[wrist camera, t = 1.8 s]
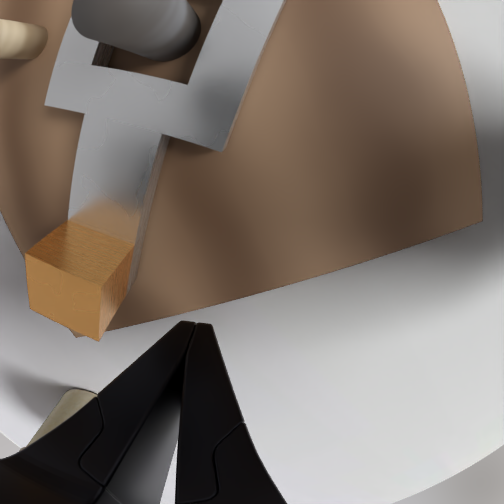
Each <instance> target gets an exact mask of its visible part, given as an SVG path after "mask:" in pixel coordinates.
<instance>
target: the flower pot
mask: <svg viewBox="0 0 504 504" xmlns="http://www.w3.org/2000/svg"><path fill="white" fill-rule="evenodd" d="M95 396H96V397H97V394H94V393H91V392H88V391H85V390H78V389H72V390H68V391H67V392H66V393H65V394H64V395H63V397H62V398H61V400H60V401H59V403H58V404H57V405H56V407H55V408H54V409H53V411H52V412H51V413H50V415H49V416H48V418H47V419H46V420H45V422H44V423H43V424H42V426H41V427H40V428H39V430H38V431H37V433H36V434H35V435H34V437H33V438H32V439H31V441H30V442H29V444H28V445H30V444H32V443H33V442H35V441H36V440H38V439H39V438H41V437H42V436H44V435H45V434H47V433H48V432H50V431H51V430H53V429H54V428H56V427H57V426H58V425H60V424H61V423H63V422H64V421H65V420H67V419H68V418H70V417H71V416H72V415H73V414H75V413H76V412H77V411H78V410H79V409H81V408H82V407H83V406H84V405H85V404H87V403H88V402H89V401H90V400H91V399H92V398H93V397H95ZM28 445H27V446H28ZM27 446H26V447H27ZM24 448H25V447H23V448H21V449H20V451H21V450H22V449H24Z"/></svg>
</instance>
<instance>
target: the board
mask: <svg viewBox="0 0 504 504" xmlns="http://www.w3.org/2000/svg"><path fill="white" fill-rule="evenodd" d="M222 2H223V0H0V211H1V213H2V215H3V218H4V220H5V222H6V224H7V226H8V228H9V230H10V232H11V234H12V236H13V238H14V240H15V242H16V244H17V246H18V248H19V250H20V252H21V253H22V255H23V257H24V259H25V253H26V252H27V251H28V250H29V249H31V248H32V247H33V246H34V245H36V244H37V243H38V242H39V241H41V240H42V239H43V238H44V237H46V236H47V235H48V234H50V233H51V232H52V231H53V230H55V229H56V228H57V227H59V226H60V225H61V224H63V223H64V222H65V221H67V220H68V211H69V201H70V193H71V185H72V178H73V171H74V165H75V159H76V153H77V148H78V142H79V137H80V132H81V128H82V123H83V119H84V115H85V114H84V113H80V112H75V111H71V110H66V109H61V108H56V107H51V106H46V105H44V104H45V100H46V95H47V91H48V87H49V83H50V79H51V76H52V72H53V68H54V65H55V62H56V58H57V55H58V52H59V49H60V46H61V43H62V40H63V37H64V34H65V31H66V29H67V26H68V23H69V21H70V18H71V16H72V22H73V25H74V27H75V29H76V30H77V31H78V32H79V33H80V34H81V35H82V36H84V37H86V38H88V39H92V40H95V41H98V42H102V43H105V44H108V45H111V46H114V49H113V52H112V55H111V58H110V61H109V63H108V67H107V68H113V69H119V70H124V71H129V72H134V73H139V74H144V75H149V76H153V77H158V78H162V79H166V80H170V81H174V82H178V83H182V84H186V85H188V83H189V80H190V77H191V75H192V72H193V70H194V67H195V64H196V62H197V59H198V57H199V54H200V52H201V49H202V47H203V44H204V42H205V40H206V37H207V35H208V33H209V30H210V28H211V26H212V23H213V21H214V19H215V17H216V15H217V12H218V10H219V8H220V6H221V4H222ZM481 221H483V214H482V188H481V174H480V163H479V154H478V146H477V139H476V132H475V126H474V120H473V115H472V110H471V105H470V100H469V96H468V91H467V87H466V83H465V79H464V75H463V72H462V68H461V64H460V61H459V58H458V54H457V51H456V48H455V45H454V42H453V39H452V36H451V33H450V31H449V28H448V25H447V23H446V20H445V18H444V15H443V13H442V10H441V8H440V5H439V3H438V1H437V0H286V2H285V4H284V7H283V9H282V11H281V13H280V15H279V18H278V20H277V22H276V24H275V27H274V29H273V31H272V33H271V36H270V38H269V40H268V43H267V45H266V47H265V50H264V52H263V54H262V57H261V59H260V61H259V64H258V66H257V69H256V71H255V74H254V76H253V78H252V81H251V83H250V86H249V88H248V91H247V93H246V96H245V99H244V101H243V104H242V106H241V109H240V111H239V114H238V117H237V119H236V122H235V125H234V127H233V130H232V133H231V135H230V138H229V141H228V144H227V146H226V148H225V149H224V150H223V152H219V151H216V150H213V149H210V148H207V147H204V146H201V145H198V144H195V143H192V142H188V141H185V140H182V139H179V138H175V137H172V136H170V140H169V143H168V146H167V150H166V153H165V156H164V160H163V164H162V167H161V171H160V174H159V178H158V182H157V186H156V189H155V193H154V197H153V201H152V205H151V210H150V214H149V218H148V222H147V227H146V231H145V236H144V241H143V246H142V250H141V255H140V261H139V266H138V271H137V277H136V280H135V282H134V284H133V285H132V287H131V288H130V290H129V292H128V293H127V295H126V296H125V298H124V300H123V301H122V303H121V305H120V306H119V308H118V310H117V311H116V313H115V315H114V316H113V318H112V320H111V321H110V323H109V325H108V326H107V328H106V330H105V332H106V331H110V330H115V329H119V328H123V327H128V326H132V325H137V324H141V323H145V322H149V321H154V320H158V319H162V318H166V317H170V316H174V315H178V314H182V313H186V312H190V311H194V310H198V309H202V308H206V307H210V306H213V305H217V304H221V303H225V302H229V301H232V300H236V299H240V298H243V297H247V296H251V295H254V294H258V293H262V292H265V291H269V290H272V289H276V288H279V287H283V286H286V285H290V284H293V283H297V282H300V281H303V280H307V279H310V278H313V277H317V276H320V275H323V274H327V273H330V272H333V271H337V270H340V269H343V268H346V267H349V266H353V265H356V264H359V263H362V262H365V261H368V260H372V259H375V258H378V257H381V256H384V255H387V254H390V253H393V252H396V251H399V250H402V249H405V248H408V247H411V246H414V245H417V244H420V243H423V242H426V241H429V240H431V239H434V238H437V237H440V236H443V235H446V234H448V233H451V232H454V231H457V230H460V229H462V228H465V227H468V226H471V225H473V224H476V223H479V222H481ZM69 329H70V328H69ZM70 331H71V332H72V333H73V335H74V336H75V337H76V338H77V337H82V336H85V335H83V334H80V333H78V332H76V331H74V330H72V329H70Z"/></svg>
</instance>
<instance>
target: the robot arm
mask: <svg viewBox="0 0 504 504" xmlns="http://www.w3.org/2000/svg"><path fill="white" fill-rule="evenodd" d="M177 440H178V450H177V467H176V490H175V504H287V503H286V501H285V500H284V498H283V496H282V495H281V493H280V492H279V490H278V488H277V487H276V485H275V484H274V482H273V480H272V479H271V477H270V475H269V474H268V472H267V470H266V468H265V466H264V465H263V463H262V461H261V459H260V457H259V455H258V453H257V451H256V449H255V446H254V444H253V442H252V439H251V437H250V434H249V432H248V429H247V426H246V424H245V423H244V418H243V416H242V413H241V410H240V407H239V404H238V402H237V399H236V396H235V393H234V390H233V387H232V384H231V381H230V378H229V375H228V372H227V369H226V366H225V363H224V360H223V357H222V354H221V351H220V348H219V345H218V341H217V338H216V335H215V332H214V329H213V326H212V325H211V324H206V323H197V324H196V323H195V322H190V321H180V322H179V323H178V324H176V325H175V326H174V327H173V328H172V329H171V330H170V331H169V332H167V333H166V334H165V335H164V336H163V337H162V338H161V339H159V340H158V341H157V342H156V343H155V344H154V345H153V346H152V347H150V348H149V349H148V350H147V351H146V352H145V353H144V354H142V355H141V356H140V357H139V358H138V359H137V360H136V361H135V362H133V363H132V364H131V365H130V366H129V367H128V368H127V369H125V370H124V371H123V372H122V373H121V374H120V375H119V376H118V377H116V378H115V379H114V380H113V381H112V382H111V383H110V384H108V385H107V386H106V387H105V388H104V389H103V390H102V391H100V392H99V393H98V394H97V397H96V396H95V397H93V398H92V399H91V400H90V401H89V402H88V403H87V404H85V405H84V406H83V407H82V408H81V409H79V410H78V411H77V412H76V413H75V414H73V415H72V416H71V417H70V418H68V419H67V420H65V421H64V422H63V423H61V424H60V425H58V426H57V427H56V428H54V429H53V430H51V431H50V432H48V433H47V434H45V435H44V436H42V437H41V438H39V439H38V440H36V441H35V442H33V443H32V444H30V445H28V446H27V447H25V448H24V449H22V450H21V451H19V452H17V453H16V454H14V455H11V456H9V457H6V458H3V459H0V504H160V501H161V497H162V493H163V490H164V486H165V482H166V479H167V475H168V472H169V468H170V465H171V461H172V457H173V454H174V450H175V447H176V443H177Z"/></svg>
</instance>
